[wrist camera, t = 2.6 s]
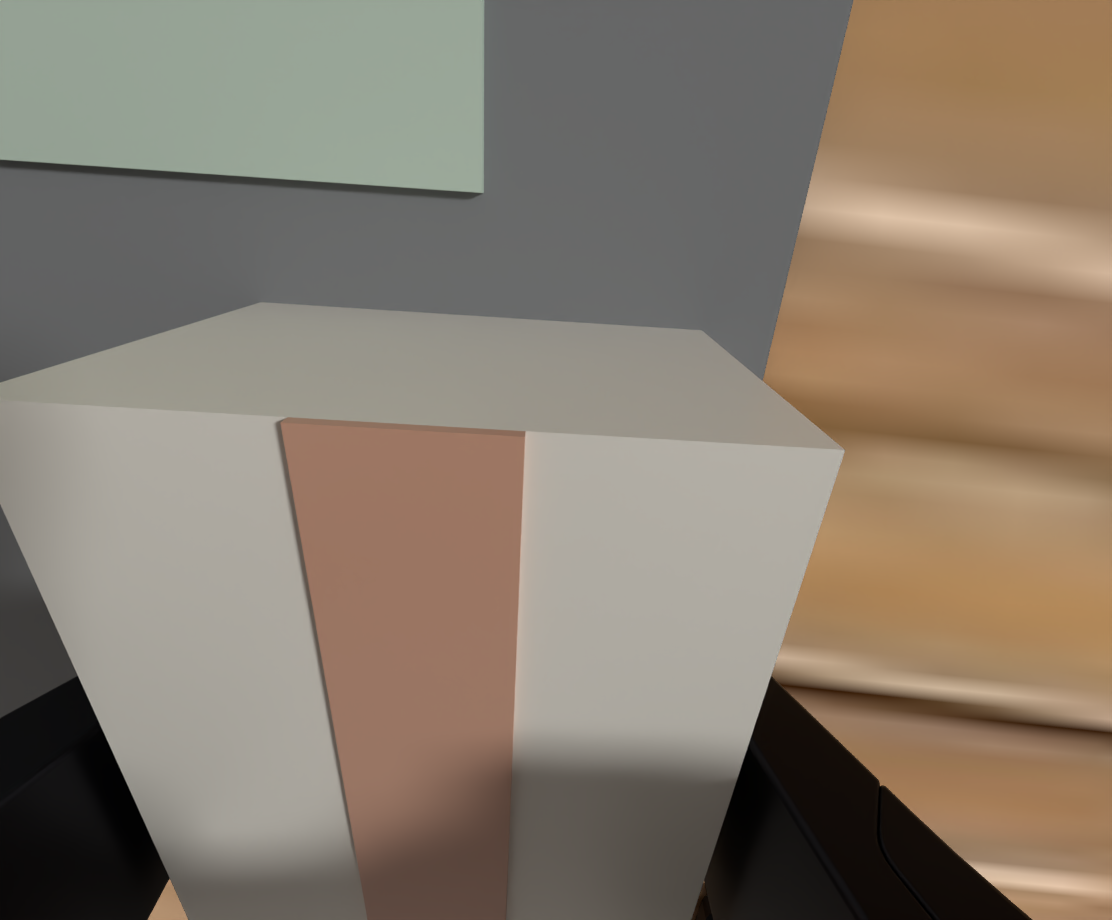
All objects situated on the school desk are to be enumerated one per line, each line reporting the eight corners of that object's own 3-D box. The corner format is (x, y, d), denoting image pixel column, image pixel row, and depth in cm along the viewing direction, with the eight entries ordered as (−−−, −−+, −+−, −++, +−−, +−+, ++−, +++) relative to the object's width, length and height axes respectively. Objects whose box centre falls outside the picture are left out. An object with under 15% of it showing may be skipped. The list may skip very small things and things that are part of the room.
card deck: (624, 759, 11) (657, 1034, 7) (338, 746, 11) (225, 1020, 7) (702, 330, 7) (852, 455, 4) (261, 302, 7) (-65, 402, 3)
